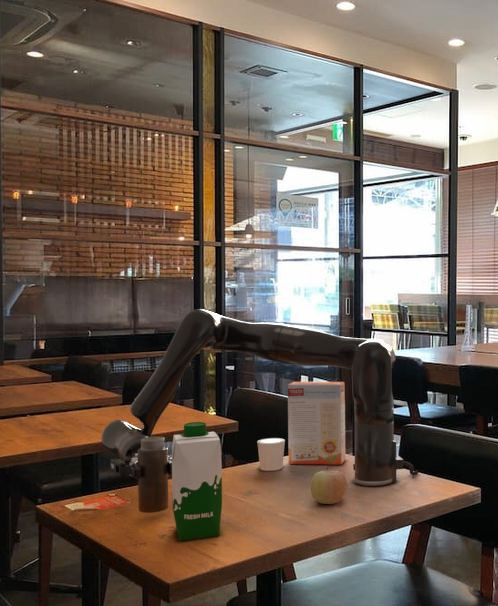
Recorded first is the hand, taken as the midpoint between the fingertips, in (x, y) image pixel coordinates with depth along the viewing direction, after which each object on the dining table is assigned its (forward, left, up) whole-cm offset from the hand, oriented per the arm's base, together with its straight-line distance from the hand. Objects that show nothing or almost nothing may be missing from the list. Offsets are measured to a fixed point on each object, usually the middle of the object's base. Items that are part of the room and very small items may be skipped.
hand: (155, 471), depth 138 cm
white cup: (-25, -33, -10) cm, 43 cm away
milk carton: (-8, +10, -10) cm, 16 cm away
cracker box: (-37, -35, -10) cm, 52 cm away
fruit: (-34, 0, -10) cm, 36 cm away
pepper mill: (+1, -3, -8) cm, 8 cm away
